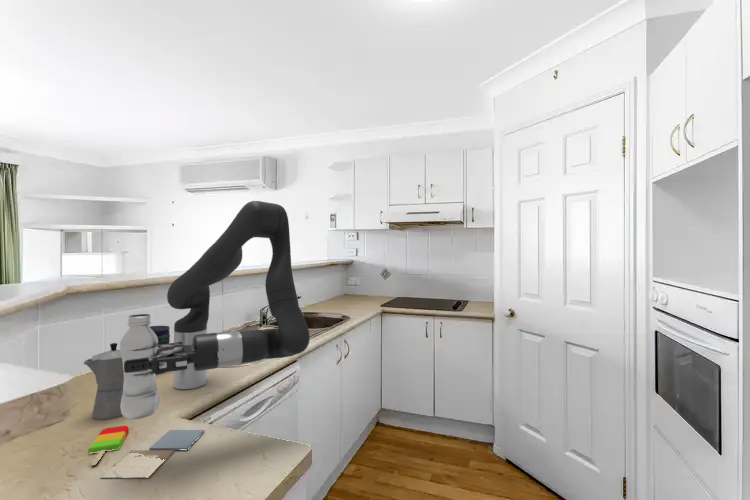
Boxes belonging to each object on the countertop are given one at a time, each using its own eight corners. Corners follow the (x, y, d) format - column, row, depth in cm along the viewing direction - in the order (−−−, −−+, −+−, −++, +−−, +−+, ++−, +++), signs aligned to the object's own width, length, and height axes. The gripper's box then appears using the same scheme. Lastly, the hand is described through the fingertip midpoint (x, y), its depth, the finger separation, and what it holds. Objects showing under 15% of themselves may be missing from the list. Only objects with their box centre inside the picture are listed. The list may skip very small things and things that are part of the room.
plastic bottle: (141, 425, 70) (141, 319, 70) (111, 422, 72) (110, 317, 72) (167, 410, 77) (166, 313, 77) (138, 407, 78) (138, 312, 78)
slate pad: (169, 432, 87) (169, 429, 87) (204, 432, 87) (204, 429, 87) (149, 450, 79) (149, 448, 79) (187, 450, 79) (187, 448, 79)
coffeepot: (93, 426, 90) (93, 351, 90) (74, 417, 95) (75, 346, 95) (157, 403, 103) (157, 338, 103) (138, 397, 108) (138, 334, 108)
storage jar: (175, 367, 135) (176, 325, 135) (157, 376, 125) (157, 331, 125) (150, 366, 136) (150, 325, 136) (129, 375, 126) (130, 331, 126)
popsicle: (129, 432, 88) (130, 424, 88) (110, 466, 74) (110, 457, 74) (102, 436, 86) (102, 428, 86) (76, 472, 72) (76, 462, 72)
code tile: (131, 452, 79) (131, 450, 79) (174, 452, 79) (174, 450, 79) (100, 478, 70) (100, 476, 70) (148, 478, 70) (148, 476, 70)
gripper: (213, 326, 88) (127, 335, 79) (223, 339, 75) (122, 351, 67) (213, 358, 88) (127, 371, 79) (223, 377, 75) (122, 393, 67)
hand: (125, 362), depth 73 cm, fingers closed on plastic bottle, 6 cm apart
